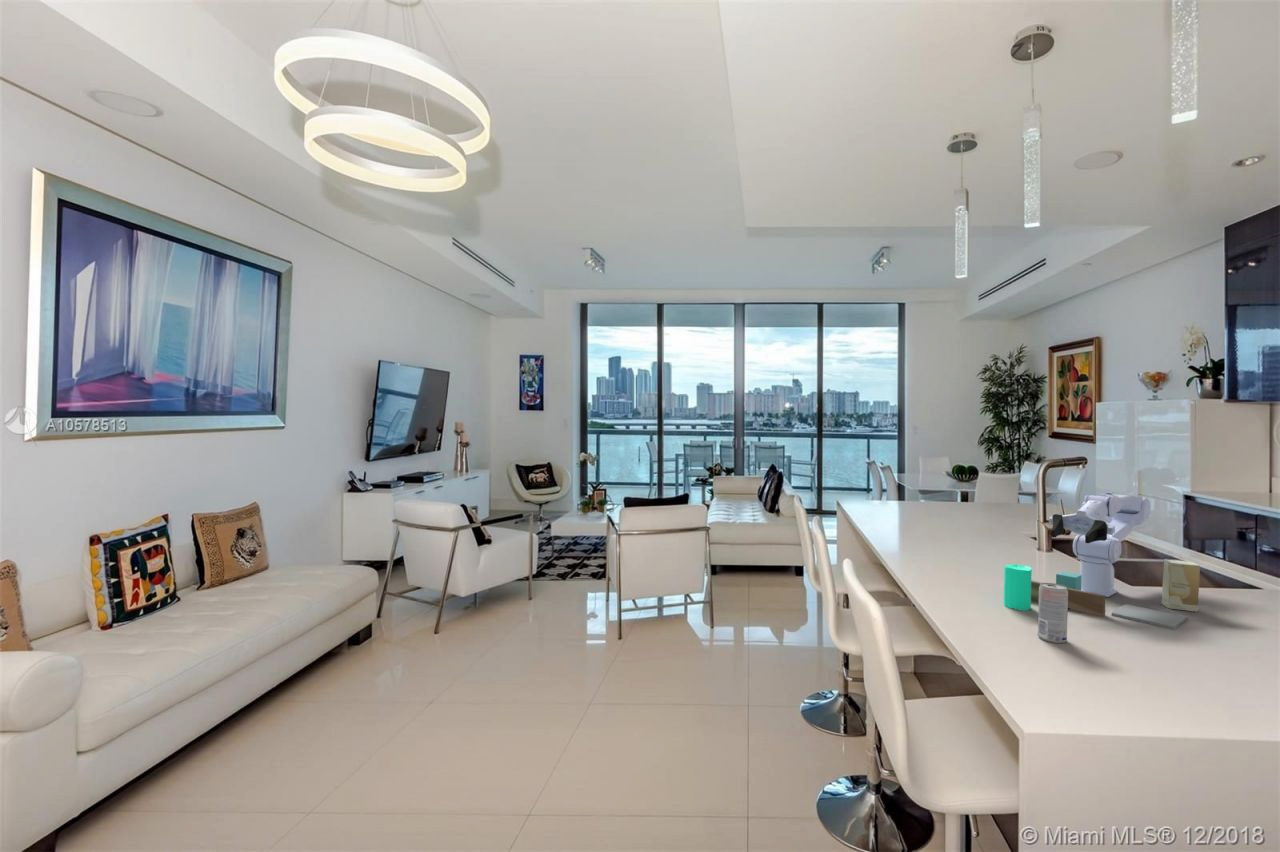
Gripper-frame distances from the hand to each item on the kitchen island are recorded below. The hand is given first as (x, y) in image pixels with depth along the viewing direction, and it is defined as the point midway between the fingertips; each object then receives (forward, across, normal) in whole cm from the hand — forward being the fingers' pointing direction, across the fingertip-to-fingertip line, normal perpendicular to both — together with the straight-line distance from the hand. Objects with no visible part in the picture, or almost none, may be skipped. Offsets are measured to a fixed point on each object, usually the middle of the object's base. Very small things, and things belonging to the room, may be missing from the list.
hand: (1069, 536), depth 157 cm
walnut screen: (+8, -1, +17) cm, 18 cm away
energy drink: (+36, +8, +8) cm, 37 cm away
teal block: (0, -1, +19) cm, 19 cm away
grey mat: (0, +16, +18) cm, 24 cm away
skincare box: (-16, +19, +23) cm, 34 cm away
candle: (+18, -7, +14) cm, 24 cm away
